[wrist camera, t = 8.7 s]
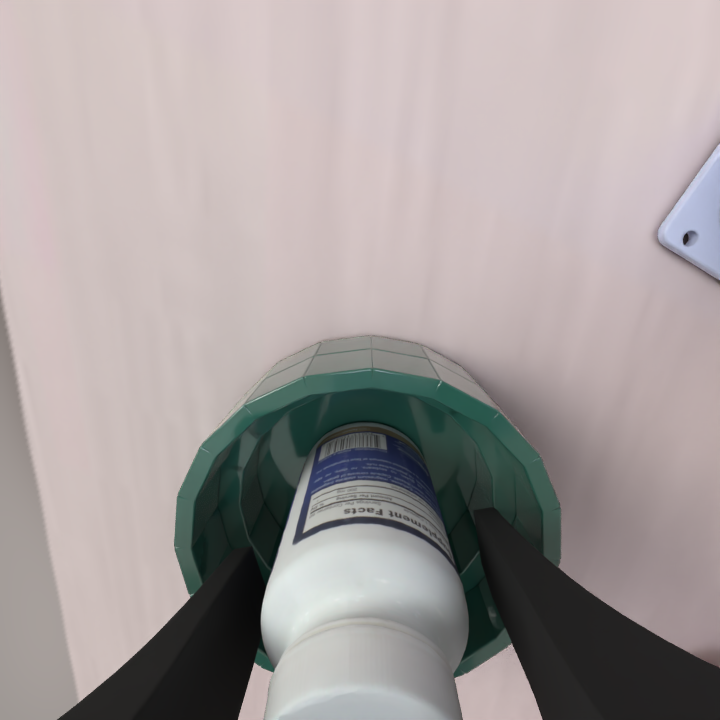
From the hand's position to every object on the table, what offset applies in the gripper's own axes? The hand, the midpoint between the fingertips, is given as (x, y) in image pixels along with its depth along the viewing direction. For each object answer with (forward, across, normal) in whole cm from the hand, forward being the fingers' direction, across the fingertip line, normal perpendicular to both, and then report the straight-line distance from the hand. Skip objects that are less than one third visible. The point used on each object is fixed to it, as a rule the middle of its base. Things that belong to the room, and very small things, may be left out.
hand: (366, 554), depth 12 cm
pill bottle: (+5, 0, 0) cm, 5 cm away
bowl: (+5, 0, 0) cm, 5 cm away
